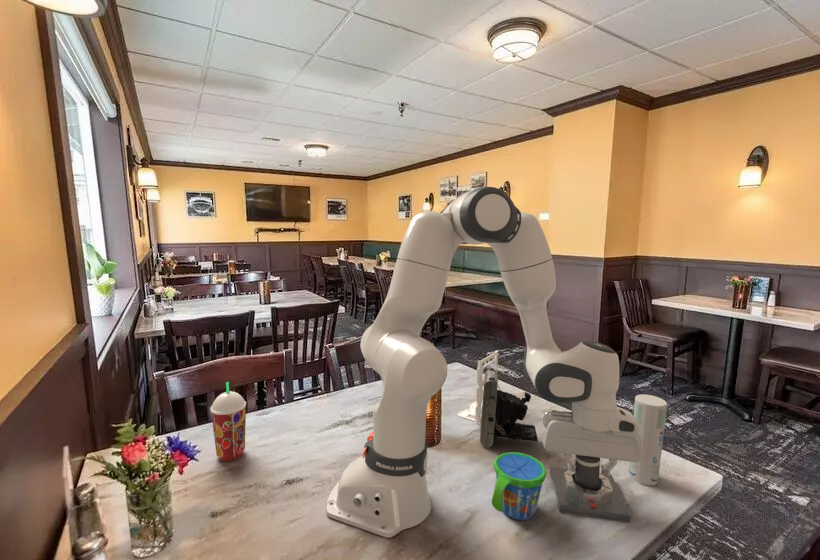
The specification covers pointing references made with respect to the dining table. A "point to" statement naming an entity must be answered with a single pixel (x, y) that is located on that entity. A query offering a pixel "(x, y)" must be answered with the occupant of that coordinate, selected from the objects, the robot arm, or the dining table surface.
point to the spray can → (649, 438)
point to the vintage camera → (503, 414)
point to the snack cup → (517, 484)
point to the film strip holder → (479, 390)
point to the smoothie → (229, 424)
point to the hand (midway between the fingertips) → (588, 472)
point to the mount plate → (589, 496)
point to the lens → (587, 472)
